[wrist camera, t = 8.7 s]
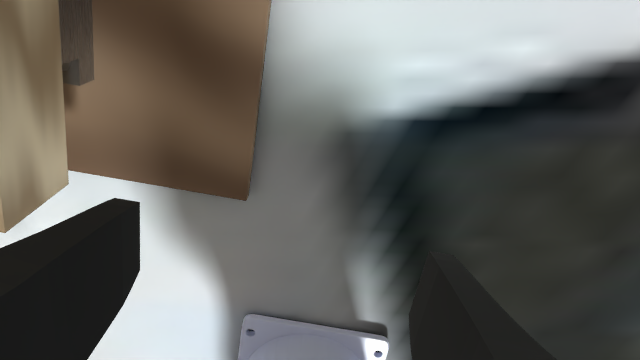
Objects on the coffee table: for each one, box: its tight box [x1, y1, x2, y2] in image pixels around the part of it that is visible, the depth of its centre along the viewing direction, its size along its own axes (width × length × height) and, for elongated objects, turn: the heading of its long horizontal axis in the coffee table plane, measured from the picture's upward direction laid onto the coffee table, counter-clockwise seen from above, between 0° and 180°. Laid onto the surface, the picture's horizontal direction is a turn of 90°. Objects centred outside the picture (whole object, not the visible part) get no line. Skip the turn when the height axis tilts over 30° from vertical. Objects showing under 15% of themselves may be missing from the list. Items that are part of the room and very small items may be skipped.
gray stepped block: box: [58, 0, 94, 86], centre depth 18 cm, size 5×4×2 cm
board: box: [63, 0, 271, 201], centre depth 20 cm, size 14×11×1 cm
